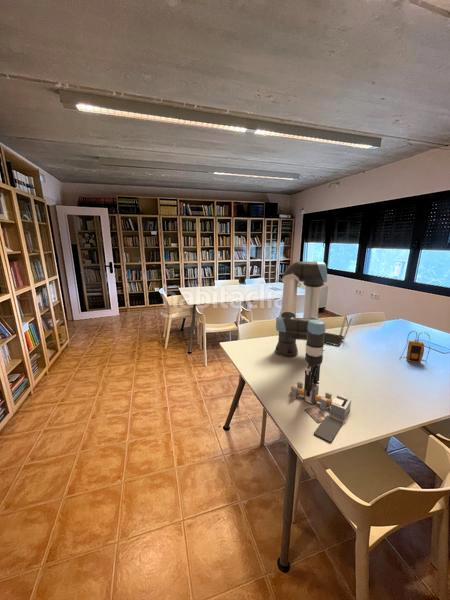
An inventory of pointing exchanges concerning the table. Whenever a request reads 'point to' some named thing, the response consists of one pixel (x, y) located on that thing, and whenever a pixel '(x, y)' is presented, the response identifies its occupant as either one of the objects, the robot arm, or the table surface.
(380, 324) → the table surface
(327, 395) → the clip
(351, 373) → the table surface
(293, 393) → the clip
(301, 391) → the orange rod with blocks
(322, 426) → the smartphone
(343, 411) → the end holder
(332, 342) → the wireless router
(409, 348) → the multimeter
